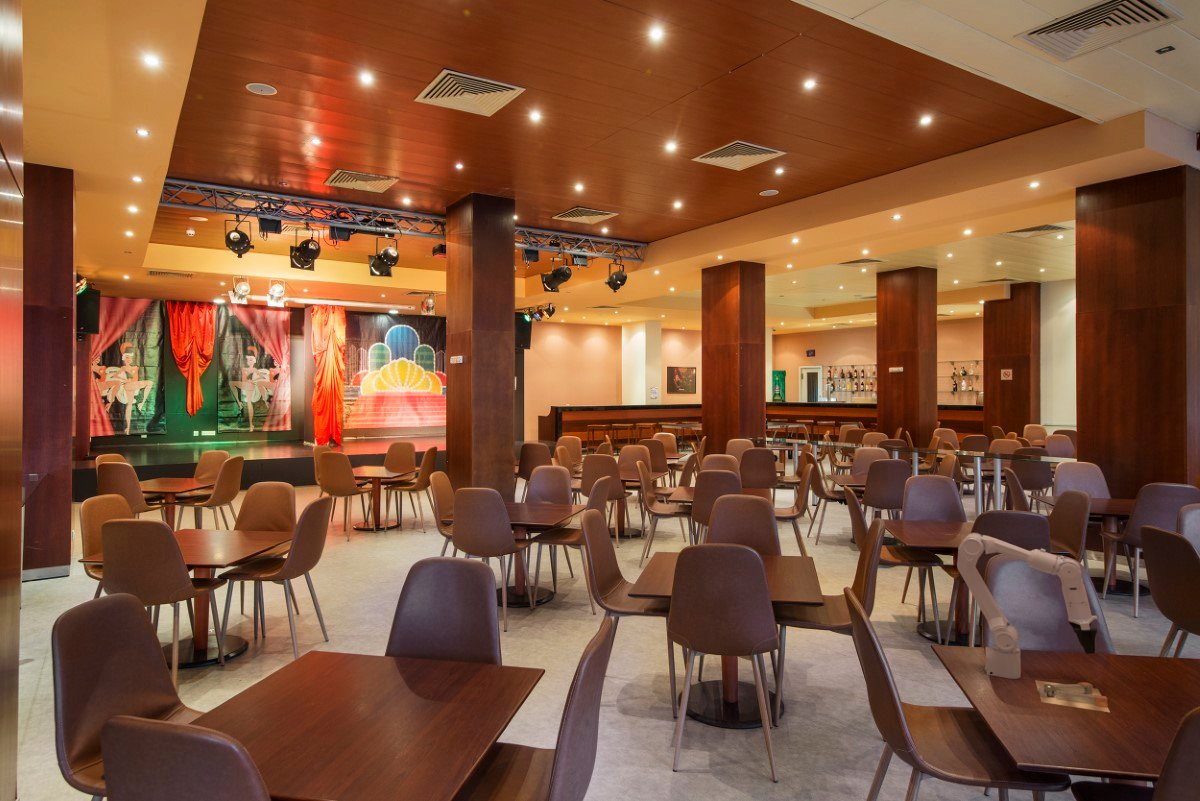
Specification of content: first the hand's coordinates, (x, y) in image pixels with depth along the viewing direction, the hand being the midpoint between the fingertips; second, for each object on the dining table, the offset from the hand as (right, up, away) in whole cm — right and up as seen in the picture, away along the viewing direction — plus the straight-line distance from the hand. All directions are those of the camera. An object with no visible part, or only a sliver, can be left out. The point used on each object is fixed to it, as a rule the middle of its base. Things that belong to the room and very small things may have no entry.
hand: (1088, 649), depth 201 cm
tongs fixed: (-10, -11, -8) cm, 17 cm away
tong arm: (-8, -11, -4) cm, 14 cm away
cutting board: (-9, -12, -5) cm, 16 cm away
